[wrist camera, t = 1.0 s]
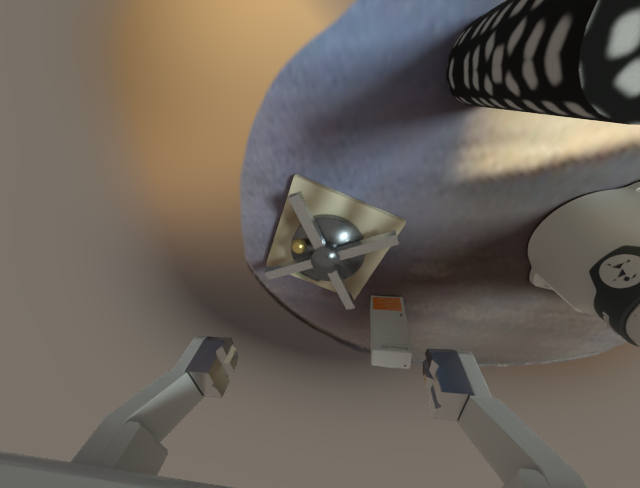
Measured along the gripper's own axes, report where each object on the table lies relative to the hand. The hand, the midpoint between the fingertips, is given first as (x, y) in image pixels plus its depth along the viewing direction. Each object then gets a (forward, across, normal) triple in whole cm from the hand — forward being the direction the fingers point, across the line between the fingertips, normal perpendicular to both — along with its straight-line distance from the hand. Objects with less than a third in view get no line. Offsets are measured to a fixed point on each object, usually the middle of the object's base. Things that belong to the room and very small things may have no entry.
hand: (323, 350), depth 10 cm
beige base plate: (+29, +3, +12) cm, 32 cm away
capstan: (+27, +3, +12) cm, 30 cm away
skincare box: (+29, -7, +26) cm, 40 cm away
